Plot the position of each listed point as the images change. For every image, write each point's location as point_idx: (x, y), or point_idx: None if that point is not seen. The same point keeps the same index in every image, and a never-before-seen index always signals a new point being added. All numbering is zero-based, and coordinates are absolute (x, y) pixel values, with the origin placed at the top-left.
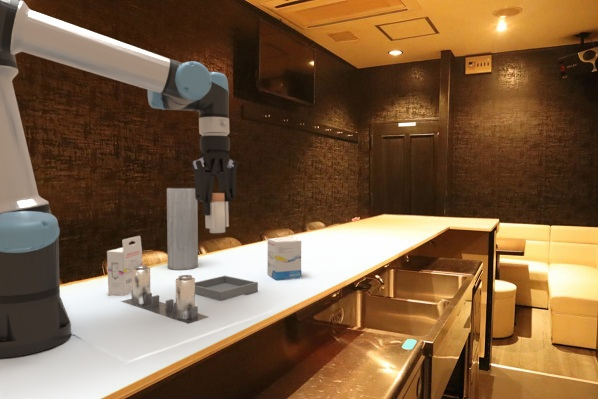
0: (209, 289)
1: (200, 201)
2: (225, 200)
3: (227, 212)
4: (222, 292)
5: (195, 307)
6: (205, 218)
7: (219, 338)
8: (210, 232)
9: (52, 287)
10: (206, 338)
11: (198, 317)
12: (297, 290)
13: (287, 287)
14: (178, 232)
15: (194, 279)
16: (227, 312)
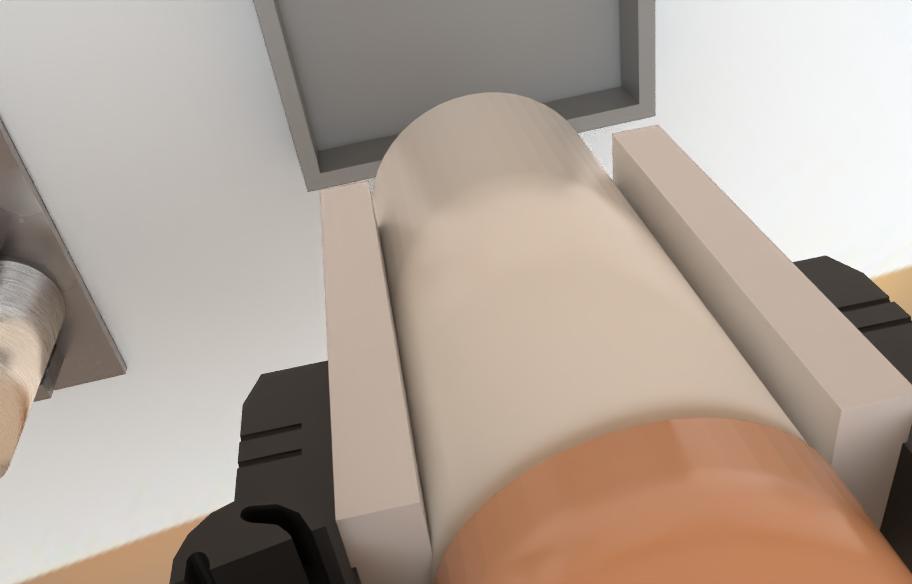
0: (277, 81)
1: (195, 552)
2: (895, 541)
3: None
4: (324, 186)
5: (35, 400)
6: (324, 279)
7: (80, 552)
8: (373, 202)
9: None
10: (32, 536)
11: (69, 357)
12: (797, 209)
13: (824, 120)
14: None
15: (2, 475)
16: (250, 331)
